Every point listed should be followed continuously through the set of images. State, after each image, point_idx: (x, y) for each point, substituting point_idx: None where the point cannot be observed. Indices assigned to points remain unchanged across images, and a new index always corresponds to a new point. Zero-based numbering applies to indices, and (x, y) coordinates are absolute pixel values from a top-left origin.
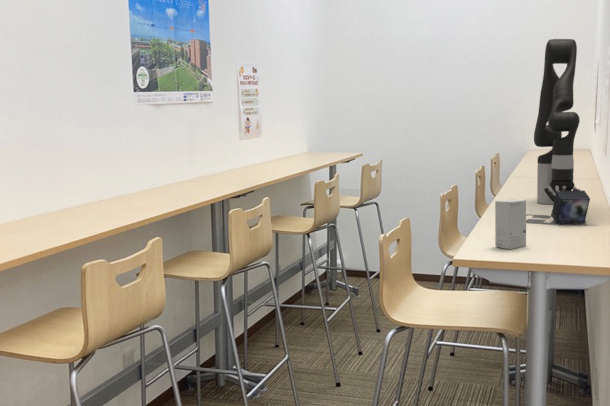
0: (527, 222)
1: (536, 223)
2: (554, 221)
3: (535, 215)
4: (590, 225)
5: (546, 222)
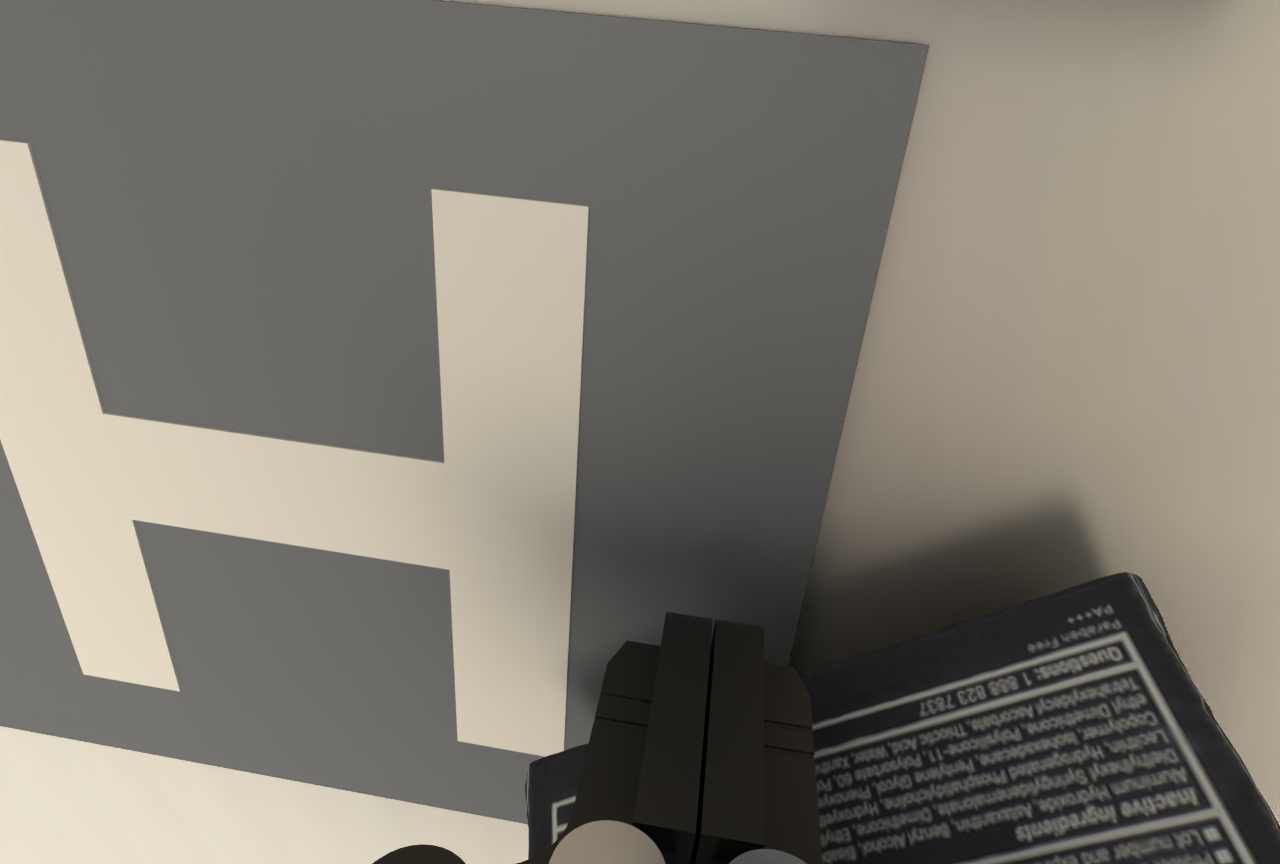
0: (263, 772)
1: (396, 794)
2: None
3: (21, 75)
4: None
5: (511, 749)
